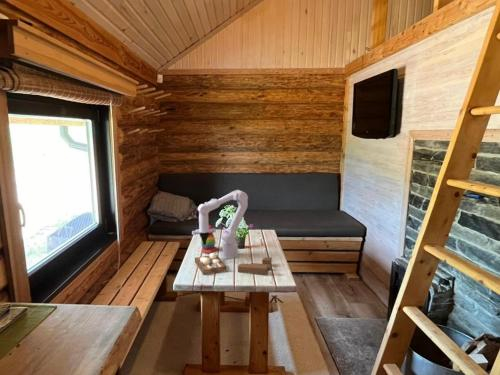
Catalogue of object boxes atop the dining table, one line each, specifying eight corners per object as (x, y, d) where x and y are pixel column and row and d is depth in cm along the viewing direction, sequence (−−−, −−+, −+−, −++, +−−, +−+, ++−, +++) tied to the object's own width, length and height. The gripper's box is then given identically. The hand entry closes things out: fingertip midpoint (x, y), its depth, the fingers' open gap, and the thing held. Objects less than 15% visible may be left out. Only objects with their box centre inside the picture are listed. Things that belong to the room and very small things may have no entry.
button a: (206, 262, 200) (205, 256, 199) (207, 264, 196) (207, 258, 196) (199, 263, 198) (199, 257, 198) (201, 265, 195) (201, 259, 194)
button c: (215, 257, 202) (215, 252, 201) (217, 259, 198) (217, 254, 198) (209, 258, 200) (208, 253, 200) (210, 260, 197) (210, 255, 196)
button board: (216, 258, 207) (216, 253, 206) (226, 270, 189) (226, 265, 188) (194, 262, 201) (194, 256, 201) (203, 275, 183) (203, 269, 182)
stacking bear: (209, 254, 214) (208, 228, 211) (197, 251, 219) (197, 226, 216) (219, 249, 223) (219, 224, 220) (207, 247, 228) (207, 222, 225)
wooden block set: (268, 267, 181) (237, 263, 186) (268, 276, 182) (237, 273, 187) (273, 256, 198) (245, 253, 202) (273, 264, 199) (245, 261, 203)
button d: (218, 264, 197) (218, 258, 196) (220, 266, 193) (220, 261, 192) (211, 265, 195) (211, 259, 195) (213, 267, 192) (213, 262, 191)
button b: (208, 262, 194) (208, 257, 193) (210, 265, 190) (210, 259, 190) (202, 263, 192) (202, 258, 192) (203, 266, 189) (203, 260, 188)
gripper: (213, 220, 207) (213, 241, 209) (190, 223, 201) (191, 243, 204) (216, 223, 201) (216, 244, 203) (193, 226, 195) (194, 247, 197)
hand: (204, 244), depth 203 cm, fingers closed
